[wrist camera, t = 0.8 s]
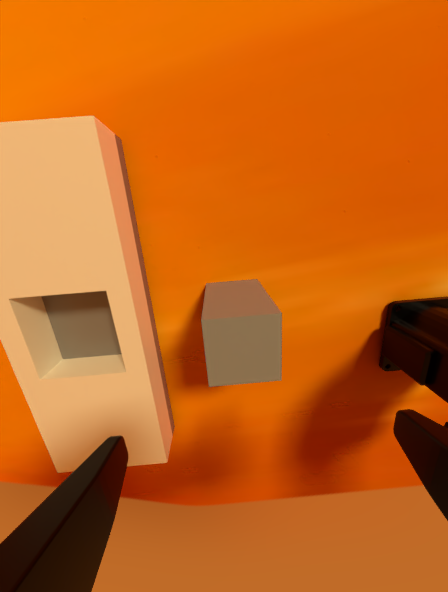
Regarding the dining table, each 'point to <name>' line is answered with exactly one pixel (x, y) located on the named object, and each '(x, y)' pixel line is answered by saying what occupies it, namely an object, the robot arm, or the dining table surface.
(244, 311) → the plug
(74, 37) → the dining table surface
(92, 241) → the cream socket panel
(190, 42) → the dining table surface
